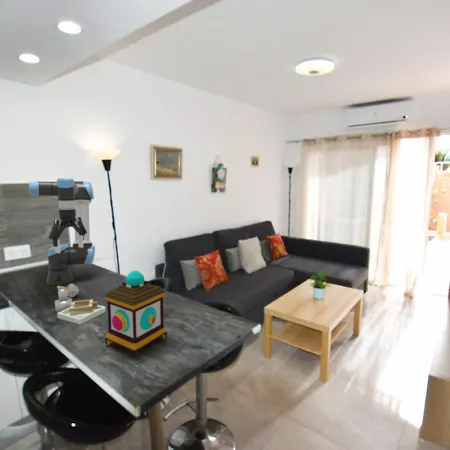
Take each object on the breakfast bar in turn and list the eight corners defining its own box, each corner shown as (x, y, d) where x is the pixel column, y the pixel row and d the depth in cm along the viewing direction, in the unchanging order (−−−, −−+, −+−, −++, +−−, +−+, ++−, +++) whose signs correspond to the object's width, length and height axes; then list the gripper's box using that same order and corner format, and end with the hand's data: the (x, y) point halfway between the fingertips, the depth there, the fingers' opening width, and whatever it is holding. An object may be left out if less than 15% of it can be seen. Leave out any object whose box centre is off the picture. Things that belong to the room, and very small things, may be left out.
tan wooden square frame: (72, 307, 145) (71, 301, 145) (97, 304, 149) (97, 298, 149) (69, 315, 136) (69, 309, 136) (96, 312, 140) (96, 306, 140)
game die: (76, 303, 165) (87, 289, 165) (63, 303, 158) (74, 288, 157) (69, 292, 169) (79, 278, 169) (56, 291, 162) (66, 277, 161)
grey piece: (65, 304, 154) (64, 283, 152) (75, 307, 151) (74, 285, 149) (51, 310, 147) (50, 288, 146) (62, 313, 144) (60, 290, 143)
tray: (84, 306, 152) (83, 301, 152) (106, 311, 147) (105, 306, 146) (57, 318, 139) (57, 313, 139) (80, 324, 133) (80, 319, 133)
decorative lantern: (134, 362, 106) (131, 282, 102) (99, 346, 116) (96, 272, 112) (172, 338, 123) (171, 268, 118) (139, 325, 133) (137, 260, 129)
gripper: (82, 206, 162) (84, 244, 165) (38, 210, 139) (41, 254, 142) (92, 207, 159) (94, 246, 162) (49, 211, 136) (52, 256, 139)
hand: (69, 250), depth 152 cm, fingers open, 13 cm apart
